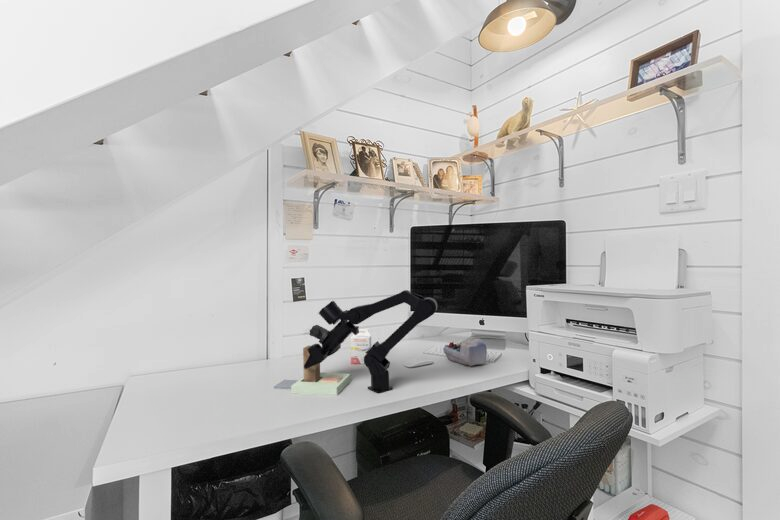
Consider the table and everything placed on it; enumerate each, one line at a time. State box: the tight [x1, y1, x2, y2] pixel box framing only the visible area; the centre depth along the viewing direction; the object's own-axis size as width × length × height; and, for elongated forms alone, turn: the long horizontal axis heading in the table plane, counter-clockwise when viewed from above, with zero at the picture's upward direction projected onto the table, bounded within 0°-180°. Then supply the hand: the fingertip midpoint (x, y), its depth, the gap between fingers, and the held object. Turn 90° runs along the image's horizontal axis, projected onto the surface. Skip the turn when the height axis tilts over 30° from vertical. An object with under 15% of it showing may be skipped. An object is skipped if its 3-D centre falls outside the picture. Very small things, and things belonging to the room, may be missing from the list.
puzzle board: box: [290, 372, 352, 396], centre depth 134 cm, size 16×16×4 cm
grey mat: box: [273, 379, 300, 390], centre depth 137 cm, size 8×8×1 cm
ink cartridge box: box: [350, 328, 372, 365], centre depth 166 cm, size 9×5×15 cm, turn 84°
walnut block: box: [302, 345, 321, 382], centre depth 135 cm, size 4×4×14 cm
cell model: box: [442, 338, 488, 367], centre depth 164 cm, size 13×11×20 cm
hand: (309, 364), depth 135 cm, fingers open, 9 cm apart
